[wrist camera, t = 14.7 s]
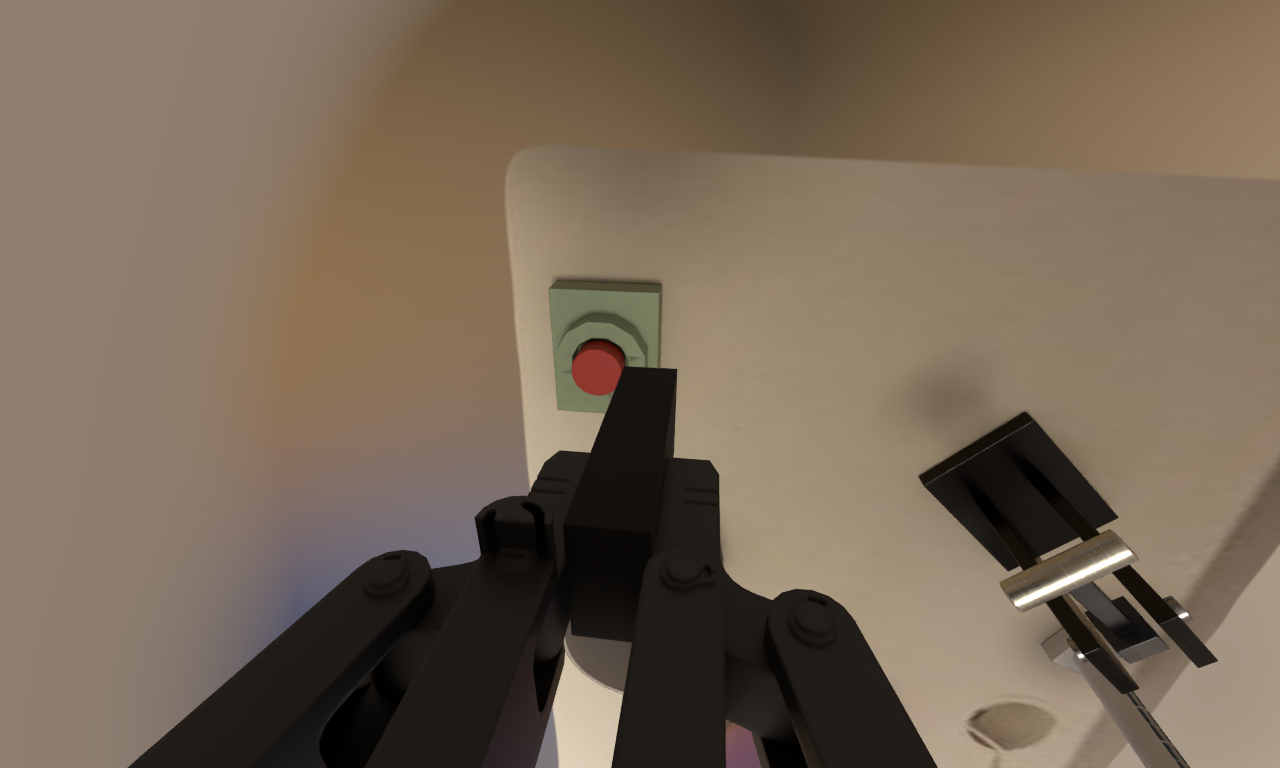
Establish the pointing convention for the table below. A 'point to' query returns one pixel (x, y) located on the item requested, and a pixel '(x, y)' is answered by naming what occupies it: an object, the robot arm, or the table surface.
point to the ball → (740, 748)
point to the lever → (1089, 593)
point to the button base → (602, 331)
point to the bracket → (1046, 529)
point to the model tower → (1120, 707)
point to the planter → (601, 658)
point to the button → (598, 367)
